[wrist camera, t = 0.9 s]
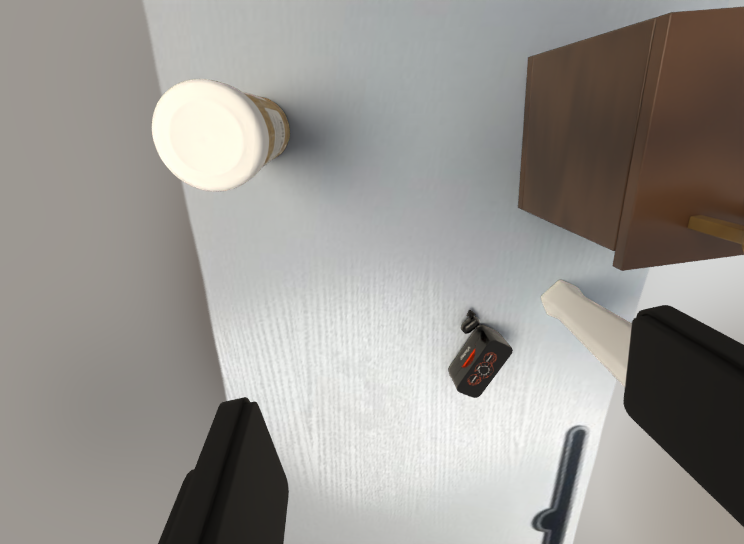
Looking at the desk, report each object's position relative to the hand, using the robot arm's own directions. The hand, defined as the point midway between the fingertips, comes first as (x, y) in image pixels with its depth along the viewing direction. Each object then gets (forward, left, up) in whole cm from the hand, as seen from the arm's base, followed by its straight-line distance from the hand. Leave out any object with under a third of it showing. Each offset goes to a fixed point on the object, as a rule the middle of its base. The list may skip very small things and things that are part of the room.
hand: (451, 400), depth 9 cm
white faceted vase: (+21, +5, -24) cm, 32 cm away
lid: (+11, +16, -12) cm, 23 cm away
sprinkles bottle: (-10, -1, -24) cm, 26 cm away
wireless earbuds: (+17, -4, -24) cm, 30 cm away
